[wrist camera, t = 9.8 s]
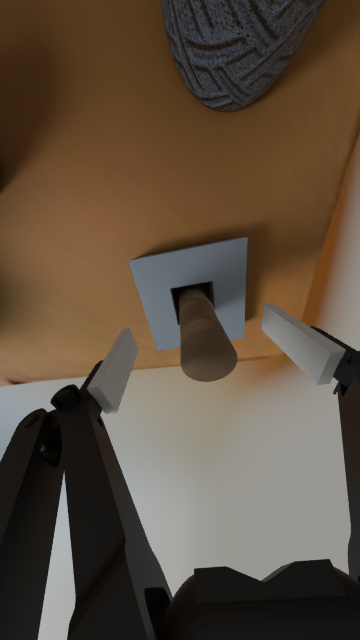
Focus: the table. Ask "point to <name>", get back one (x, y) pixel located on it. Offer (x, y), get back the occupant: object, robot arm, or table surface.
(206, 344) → the peg
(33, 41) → the table surface
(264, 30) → the vase
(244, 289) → the socket block
